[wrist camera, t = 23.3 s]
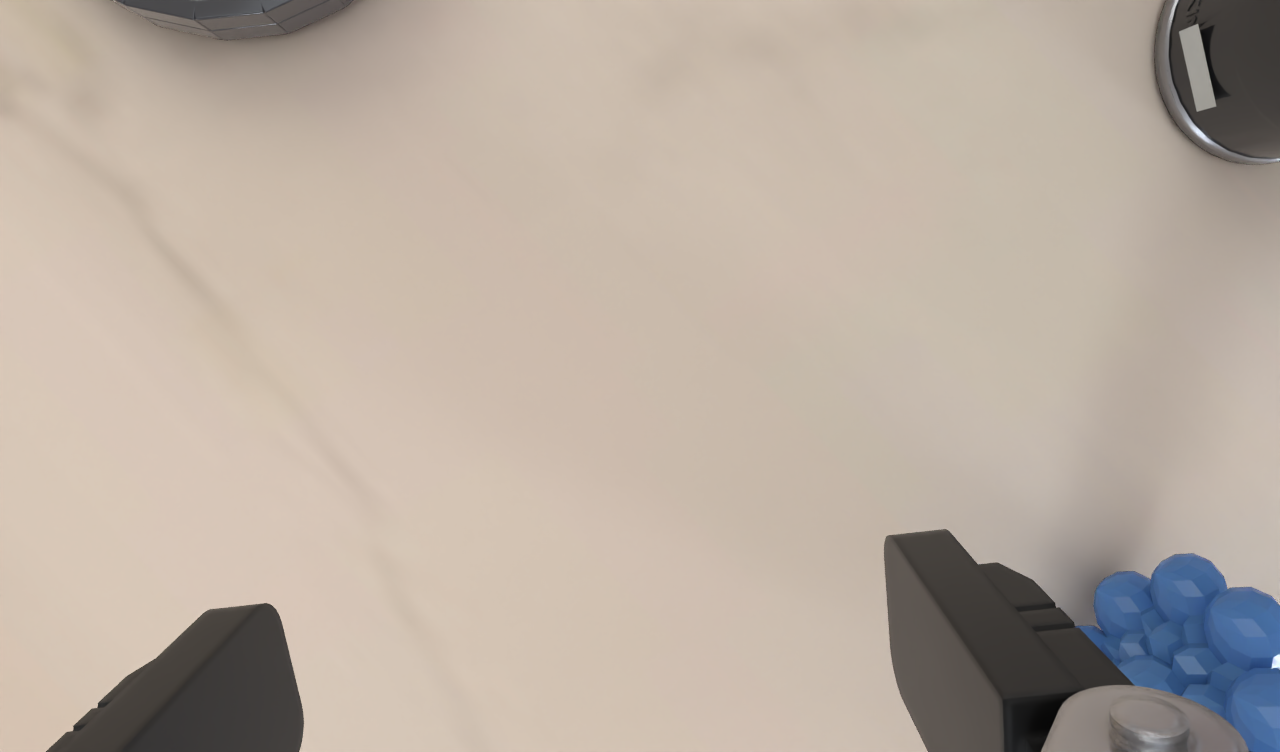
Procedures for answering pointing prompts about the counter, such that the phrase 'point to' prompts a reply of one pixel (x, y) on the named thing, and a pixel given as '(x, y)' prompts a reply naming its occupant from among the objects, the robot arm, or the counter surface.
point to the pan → (233, 15)
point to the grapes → (1196, 641)
